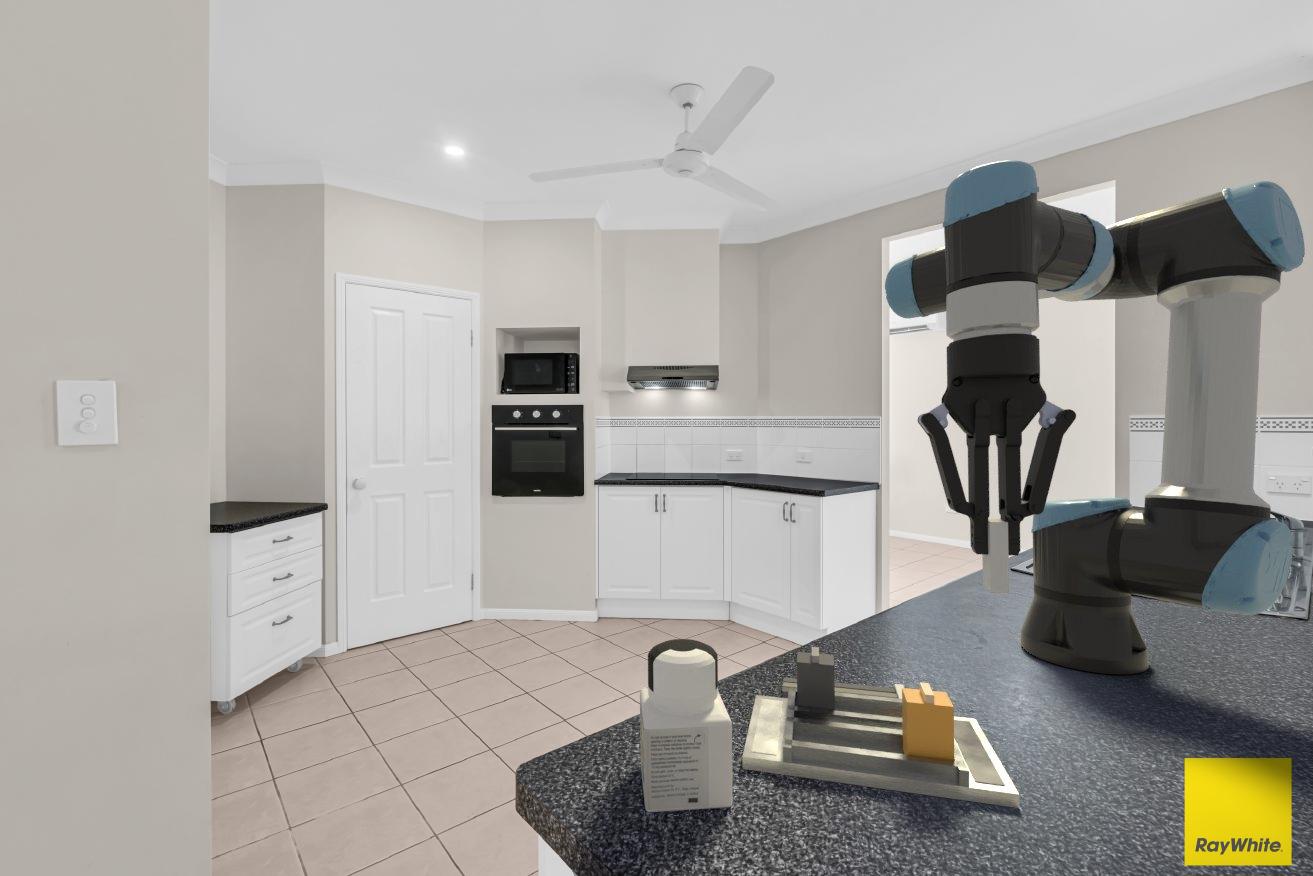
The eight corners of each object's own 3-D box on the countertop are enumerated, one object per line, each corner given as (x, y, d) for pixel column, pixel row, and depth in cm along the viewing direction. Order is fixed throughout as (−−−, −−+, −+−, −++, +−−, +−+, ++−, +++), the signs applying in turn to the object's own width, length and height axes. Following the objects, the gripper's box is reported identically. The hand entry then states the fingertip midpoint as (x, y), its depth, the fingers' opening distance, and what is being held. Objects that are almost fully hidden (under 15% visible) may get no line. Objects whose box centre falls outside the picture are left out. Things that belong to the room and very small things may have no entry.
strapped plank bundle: (933, 700, 70) (933, 687, 70) (942, 719, 65) (942, 705, 65) (784, 685, 75) (784, 673, 75) (782, 702, 70) (782, 689, 70)
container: (640, 764, 57) (639, 634, 57) (716, 760, 58) (715, 631, 58) (645, 814, 49) (644, 664, 49) (733, 809, 50) (732, 660, 50)
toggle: (833, 707, 66) (833, 648, 66) (834, 720, 63) (834, 658, 63) (798, 703, 67) (797, 645, 67) (797, 716, 64) (796, 655, 64)
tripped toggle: (946, 753, 56) (945, 684, 56) (954, 772, 53) (953, 698, 53) (902, 748, 57) (901, 679, 57) (907, 766, 54) (906, 693, 54)
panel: (975, 729, 63) (975, 706, 63) (1019, 808, 50) (1019, 778, 50) (756, 705, 70) (756, 683, 70) (742, 768, 56) (742, 742, 56)
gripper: (1055, 339, 55) (1060, 583, 55) (910, 347, 59) (914, 576, 59) (1090, 325, 48) (1095, 605, 48) (922, 335, 52) (926, 596, 52)
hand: (995, 589), depth 54 cm, fingers closed
